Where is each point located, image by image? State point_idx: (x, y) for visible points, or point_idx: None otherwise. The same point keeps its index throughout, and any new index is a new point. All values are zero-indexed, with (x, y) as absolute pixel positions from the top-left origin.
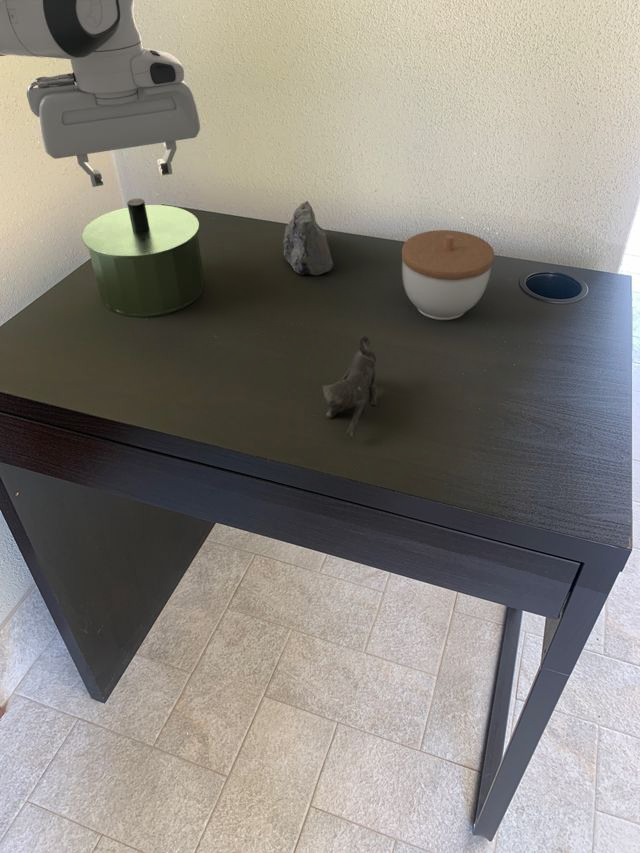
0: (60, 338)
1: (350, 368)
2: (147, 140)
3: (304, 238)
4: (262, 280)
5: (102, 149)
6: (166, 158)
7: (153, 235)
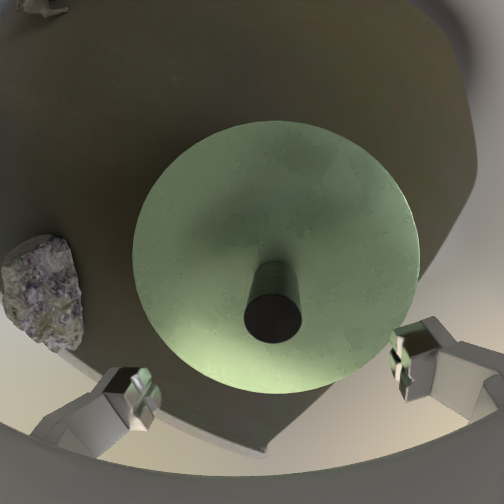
0: (416, 118)
1: (47, 1)
2: (84, 474)
3: (23, 255)
4: (107, 235)
5: (428, 453)
6: (99, 410)
7: (239, 235)
